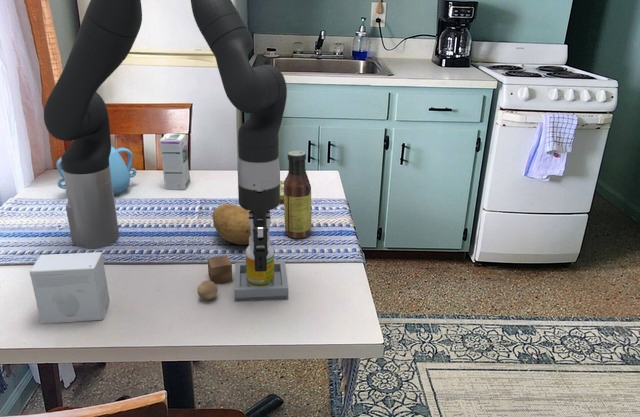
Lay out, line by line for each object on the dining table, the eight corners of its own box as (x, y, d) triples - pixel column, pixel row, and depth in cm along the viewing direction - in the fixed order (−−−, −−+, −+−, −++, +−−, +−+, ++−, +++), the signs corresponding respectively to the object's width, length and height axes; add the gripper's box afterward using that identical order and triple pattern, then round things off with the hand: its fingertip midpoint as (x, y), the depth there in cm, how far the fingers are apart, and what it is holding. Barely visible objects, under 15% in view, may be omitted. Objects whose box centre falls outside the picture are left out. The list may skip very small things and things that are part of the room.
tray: (234, 301, 102) (234, 290, 101) (235, 273, 111) (235, 262, 110) (288, 299, 103) (288, 288, 102) (284, 271, 112) (284, 261, 111)
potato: (250, 259, 116) (250, 225, 113) (203, 240, 123) (201, 208, 120) (279, 242, 124) (279, 210, 121) (232, 225, 131) (231, 194, 128)
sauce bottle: (316, 234, 128) (319, 153, 120) (297, 242, 124) (299, 159, 116) (297, 225, 132) (298, 146, 124) (278, 233, 128) (278, 152, 120)
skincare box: (110, 299, 101) (102, 250, 97) (103, 320, 95) (94, 269, 91) (50, 303, 100) (40, 252, 95) (39, 324, 94) (27, 272, 90)
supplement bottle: (269, 291, 104) (269, 246, 100) (242, 287, 105) (241, 242, 101) (277, 276, 109) (277, 233, 105) (251, 273, 110) (250, 230, 106)
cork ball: (197, 304, 101) (196, 287, 99) (198, 293, 104) (197, 277, 103) (217, 303, 101) (216, 286, 100) (218, 292, 104) (217, 276, 103)
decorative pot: (105, 208, 138) (98, 157, 132) (53, 198, 142) (44, 148, 137) (144, 186, 152) (139, 139, 146) (95, 177, 156) (89, 131, 151)
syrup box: (185, 190, 150) (181, 139, 144) (164, 189, 150) (159, 138, 144) (190, 182, 155) (186, 133, 149) (169, 182, 155) (165, 132, 149)
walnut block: (212, 285, 107) (211, 267, 105) (208, 275, 110) (207, 258, 109) (232, 281, 108) (231, 264, 107) (227, 272, 112) (227, 254, 110)
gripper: (238, 166, 104) (241, 243, 111) (237, 196, 91) (240, 281, 98) (278, 166, 105) (278, 242, 112) (282, 195, 92) (282, 280, 99)
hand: (260, 260), depth 105 cm, fingers open, 6 cm apart
